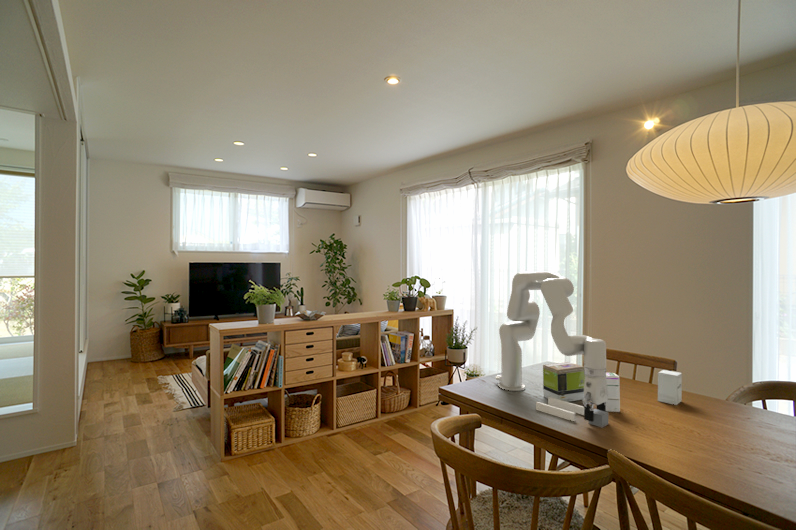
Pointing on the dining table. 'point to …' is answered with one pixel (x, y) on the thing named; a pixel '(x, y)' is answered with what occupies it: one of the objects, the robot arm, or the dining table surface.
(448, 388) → the dining table surface
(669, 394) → the supplement box
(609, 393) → the syrup box
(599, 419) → the block
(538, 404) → the channel
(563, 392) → the tea box
